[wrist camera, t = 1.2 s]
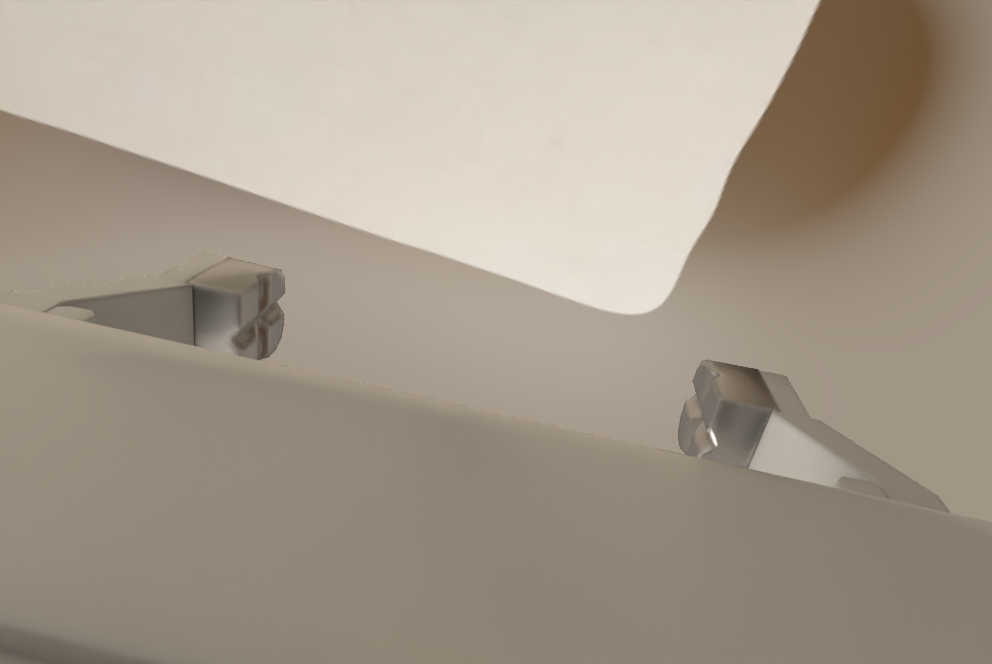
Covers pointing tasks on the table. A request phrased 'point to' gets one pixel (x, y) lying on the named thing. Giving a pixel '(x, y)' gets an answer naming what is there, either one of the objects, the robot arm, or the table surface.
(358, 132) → the table surface
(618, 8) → the table surface
